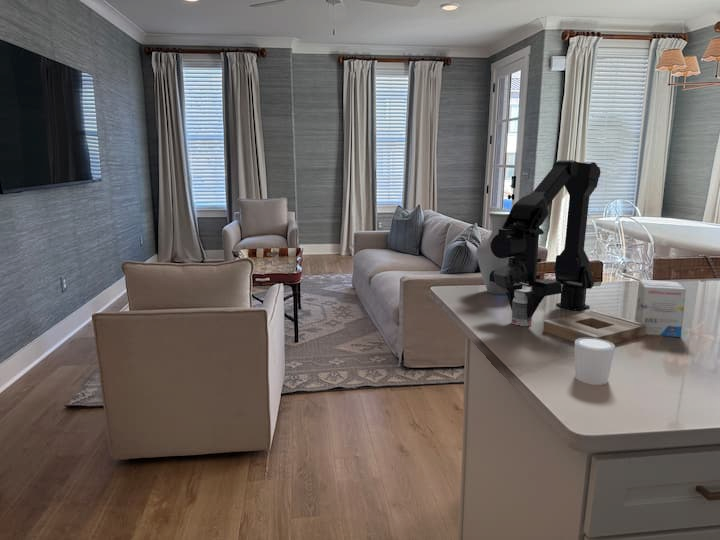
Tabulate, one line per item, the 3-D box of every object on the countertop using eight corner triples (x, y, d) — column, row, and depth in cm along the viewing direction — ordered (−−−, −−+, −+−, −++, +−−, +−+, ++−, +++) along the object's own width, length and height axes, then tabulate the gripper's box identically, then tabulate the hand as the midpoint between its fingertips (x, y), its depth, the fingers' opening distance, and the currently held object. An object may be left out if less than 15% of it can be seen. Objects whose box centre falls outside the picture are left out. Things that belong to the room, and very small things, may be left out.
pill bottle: (532, 326, 126) (534, 294, 125) (512, 325, 127) (514, 293, 125) (529, 321, 131) (531, 289, 129) (510, 320, 132) (512, 288, 130)
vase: (474, 285, 169) (477, 210, 164) (519, 287, 166) (524, 210, 161) (475, 296, 155) (478, 214, 150) (524, 299, 152) (529, 215, 147)
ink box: (672, 327, 126) (678, 280, 123) (681, 338, 118) (687, 288, 115) (633, 323, 128) (638, 278, 126) (639, 334, 121) (644, 286, 118)
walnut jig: (592, 320, 131) (593, 310, 131) (645, 335, 119) (646, 324, 119) (543, 331, 123) (543, 320, 122) (594, 349, 111) (595, 337, 110)
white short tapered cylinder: (565, 372, 99) (567, 337, 97) (599, 370, 99) (602, 336, 98) (583, 387, 92) (586, 350, 91) (619, 385, 93) (623, 349, 91)
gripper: (474, 251, 130) (472, 310, 133) (531, 263, 114) (526, 330, 117) (507, 247, 135) (504, 304, 138) (565, 258, 119) (560, 322, 122)
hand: (521, 315), depth 129 cm, fingers closed on pill bottle, 5 cm apart
